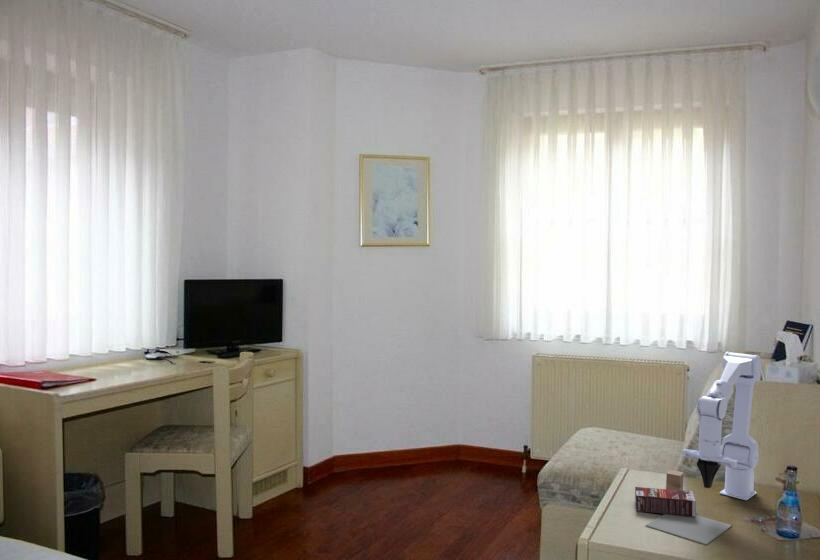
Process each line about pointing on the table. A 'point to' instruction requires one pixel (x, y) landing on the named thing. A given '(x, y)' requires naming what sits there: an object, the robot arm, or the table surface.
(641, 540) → the table surface
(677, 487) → the walnut block
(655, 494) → the supplement box
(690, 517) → the mat
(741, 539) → the table surface
